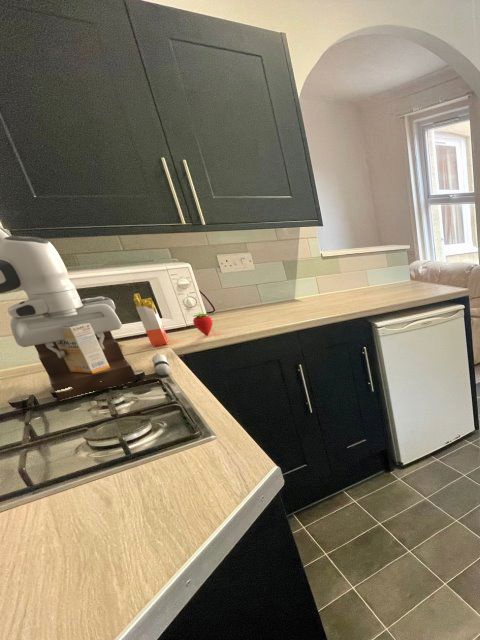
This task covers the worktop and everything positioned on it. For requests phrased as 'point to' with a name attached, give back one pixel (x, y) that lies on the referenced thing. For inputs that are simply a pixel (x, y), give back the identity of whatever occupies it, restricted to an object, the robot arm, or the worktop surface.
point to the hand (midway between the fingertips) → (82, 353)
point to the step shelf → (86, 382)
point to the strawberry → (203, 323)
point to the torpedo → (161, 364)
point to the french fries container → (150, 320)
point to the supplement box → (82, 349)
